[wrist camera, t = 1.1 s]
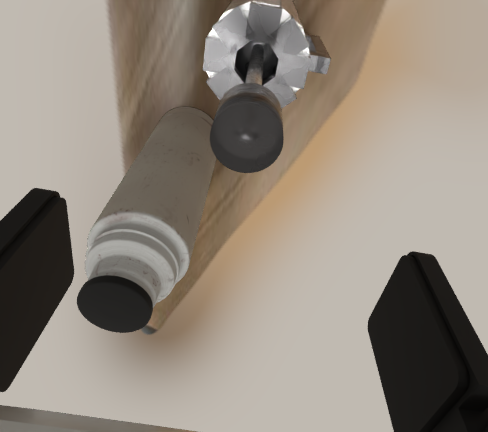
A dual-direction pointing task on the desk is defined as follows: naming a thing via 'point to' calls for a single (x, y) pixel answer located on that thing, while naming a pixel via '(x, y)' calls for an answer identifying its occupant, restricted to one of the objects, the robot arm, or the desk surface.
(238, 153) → the plunger
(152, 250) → the thermos bottle
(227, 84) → the press pot
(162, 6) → the desk surface
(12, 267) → the robot arm
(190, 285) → the desk surface
